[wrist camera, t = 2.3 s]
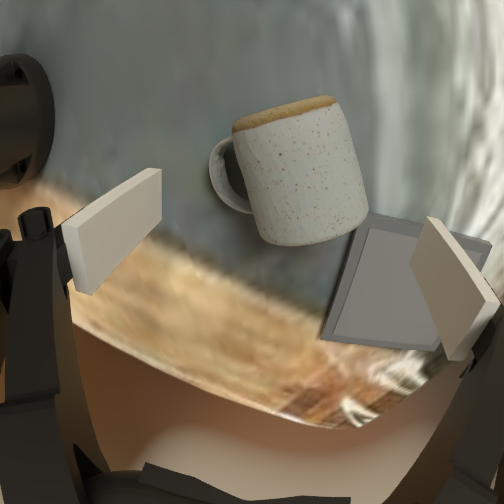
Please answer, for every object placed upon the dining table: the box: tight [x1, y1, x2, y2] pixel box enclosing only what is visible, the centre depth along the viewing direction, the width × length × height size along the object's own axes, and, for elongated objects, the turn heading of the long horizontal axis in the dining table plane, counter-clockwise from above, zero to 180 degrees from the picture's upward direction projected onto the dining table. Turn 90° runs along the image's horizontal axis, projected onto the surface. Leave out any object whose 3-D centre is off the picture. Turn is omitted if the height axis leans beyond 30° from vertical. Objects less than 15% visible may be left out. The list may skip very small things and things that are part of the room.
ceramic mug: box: [209, 95, 369, 246], centre depth 19 cm, size 11×8×8 cm
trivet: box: [320, 212, 492, 351], centre depth 26 cm, size 14×14×1 cm
